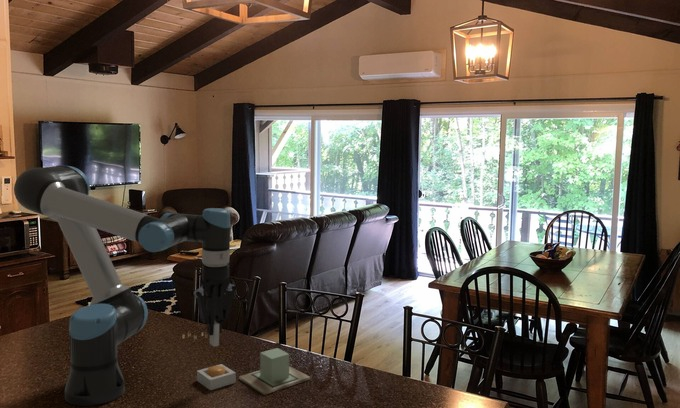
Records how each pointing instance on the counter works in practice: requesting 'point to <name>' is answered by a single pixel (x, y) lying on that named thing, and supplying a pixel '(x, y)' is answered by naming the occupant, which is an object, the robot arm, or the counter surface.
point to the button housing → (216, 378)
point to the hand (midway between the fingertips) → (214, 344)
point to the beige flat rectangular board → (268, 387)
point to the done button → (216, 371)
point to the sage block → (274, 365)
